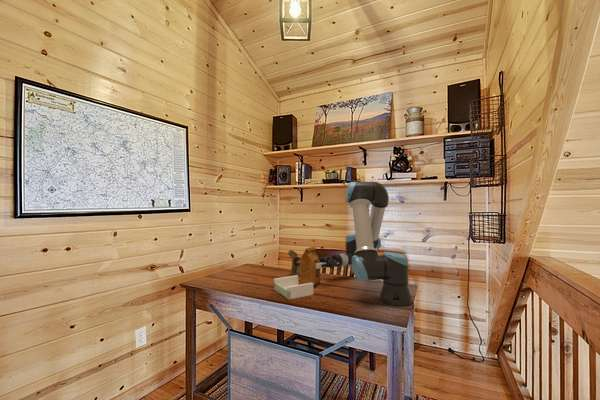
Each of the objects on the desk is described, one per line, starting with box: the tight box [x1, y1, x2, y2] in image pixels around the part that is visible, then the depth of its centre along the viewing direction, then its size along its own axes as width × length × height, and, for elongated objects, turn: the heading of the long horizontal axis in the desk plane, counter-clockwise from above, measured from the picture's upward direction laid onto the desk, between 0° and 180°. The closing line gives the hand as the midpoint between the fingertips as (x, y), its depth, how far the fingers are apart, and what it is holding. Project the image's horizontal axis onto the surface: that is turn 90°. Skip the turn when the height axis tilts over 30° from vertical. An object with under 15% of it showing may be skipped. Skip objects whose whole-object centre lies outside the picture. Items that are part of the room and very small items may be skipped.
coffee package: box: [299, 245, 321, 286], centre depth 165 cm, size 10×12×22 cm
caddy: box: [273, 275, 314, 301], centre depth 151 cm, size 18×15×6 cm
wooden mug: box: [287, 249, 301, 278], centre depth 184 cm, size 9×14×18 cm, turn 155°
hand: (309, 263), depth 165 cm, fingers open, 13 cm apart
